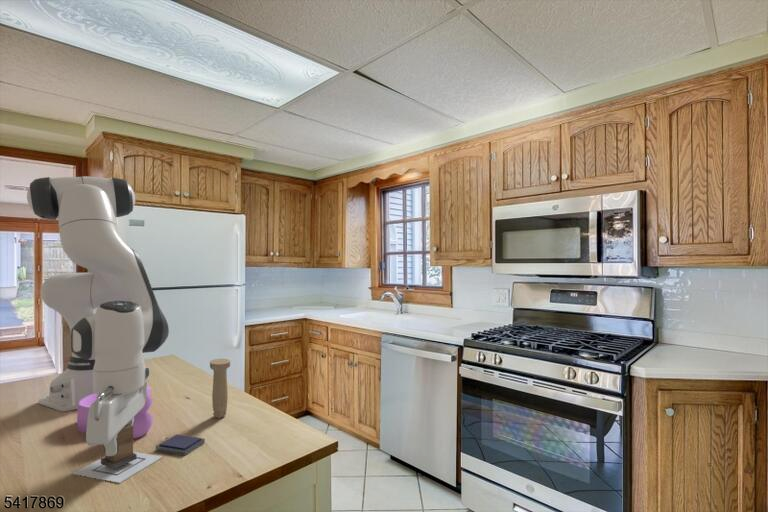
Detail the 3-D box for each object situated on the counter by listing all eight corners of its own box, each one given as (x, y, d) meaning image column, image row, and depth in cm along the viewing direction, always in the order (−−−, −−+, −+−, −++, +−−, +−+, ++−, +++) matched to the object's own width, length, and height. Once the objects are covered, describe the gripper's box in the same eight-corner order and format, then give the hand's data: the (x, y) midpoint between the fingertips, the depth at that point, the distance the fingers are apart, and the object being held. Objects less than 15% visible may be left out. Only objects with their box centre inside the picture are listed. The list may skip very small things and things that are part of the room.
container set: (69, 423, 101) (69, 373, 101) (134, 405, 113) (134, 360, 113) (103, 451, 86) (104, 392, 86) (174, 427, 98) (174, 376, 98)
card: (72, 474, 77) (72, 472, 77) (119, 450, 86) (119, 449, 86) (119, 483, 74) (119, 482, 74) (162, 457, 83) (162, 456, 83)
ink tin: (155, 450, 86) (155, 444, 86) (176, 438, 92) (176, 433, 92) (184, 455, 84) (184, 449, 84) (204, 443, 90) (204, 437, 90)
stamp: (100, 463, 79) (101, 429, 79) (124, 454, 83) (124, 421, 83) (113, 469, 77) (113, 434, 77) (136, 458, 81) (136, 425, 81)
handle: (215, 422, 101) (215, 365, 101) (206, 415, 106) (206, 360, 106) (233, 417, 104) (233, 362, 105) (224, 410, 109) (224, 357, 109)
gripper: (115, 395, 71) (114, 471, 71) (152, 366, 91) (152, 425, 90) (75, 398, 69) (74, 475, 69) (122, 367, 89) (121, 427, 89)
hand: (119, 446), depth 80 cm, fingers closed on stamp, 5 cm apart
